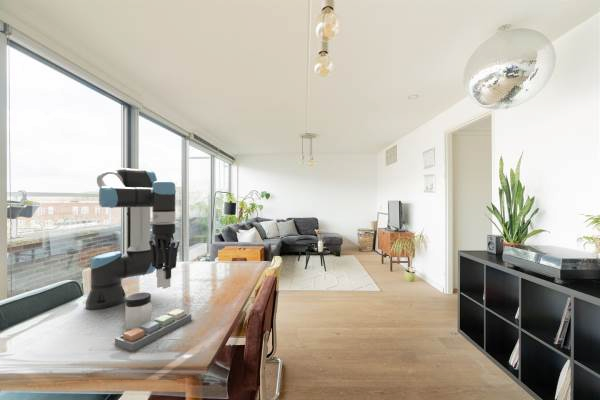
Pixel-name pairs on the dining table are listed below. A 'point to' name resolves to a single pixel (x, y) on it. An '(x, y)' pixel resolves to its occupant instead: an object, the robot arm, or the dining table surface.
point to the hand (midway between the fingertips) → (163, 286)
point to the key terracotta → (133, 334)
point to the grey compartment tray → (153, 334)
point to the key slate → (150, 327)
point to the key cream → (177, 314)
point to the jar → (138, 310)
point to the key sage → (164, 320)
